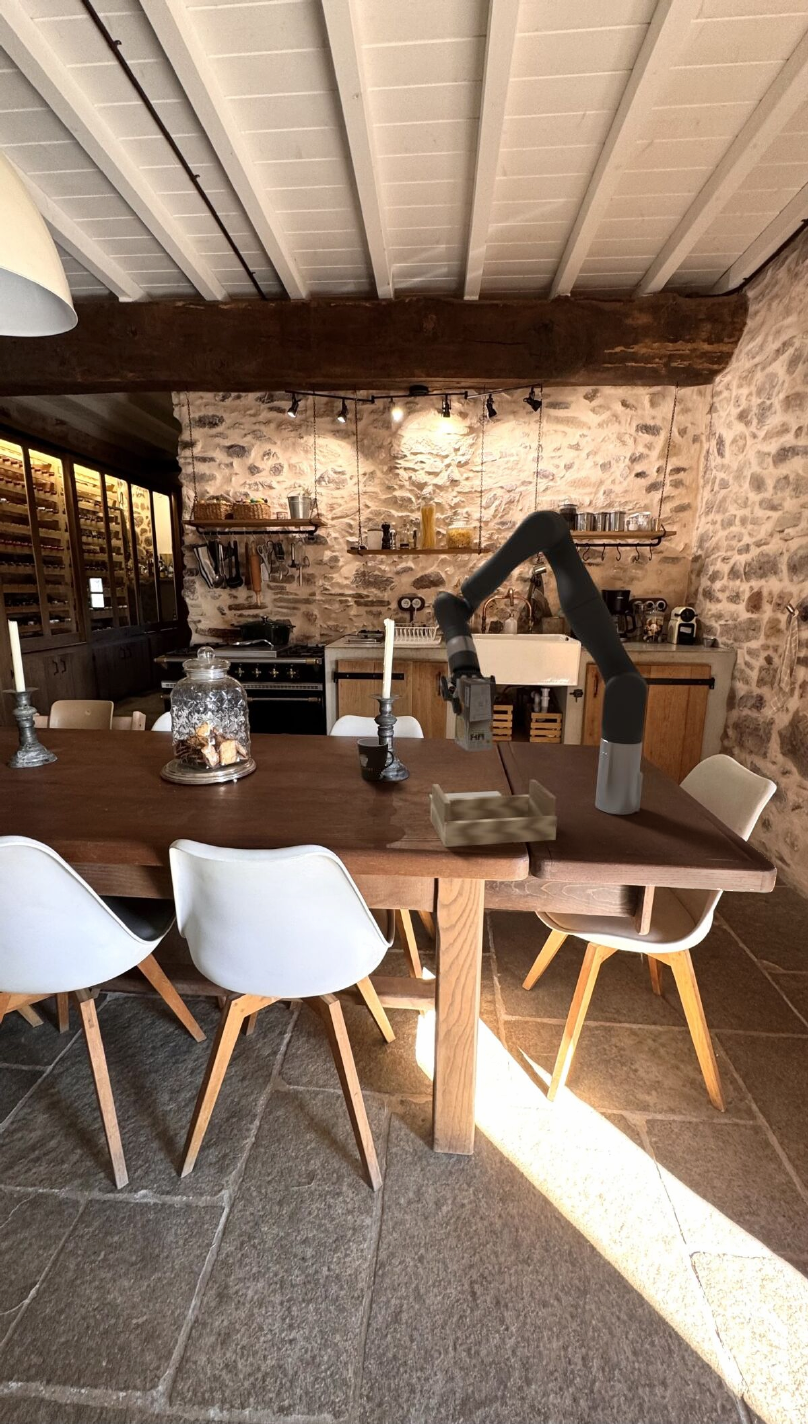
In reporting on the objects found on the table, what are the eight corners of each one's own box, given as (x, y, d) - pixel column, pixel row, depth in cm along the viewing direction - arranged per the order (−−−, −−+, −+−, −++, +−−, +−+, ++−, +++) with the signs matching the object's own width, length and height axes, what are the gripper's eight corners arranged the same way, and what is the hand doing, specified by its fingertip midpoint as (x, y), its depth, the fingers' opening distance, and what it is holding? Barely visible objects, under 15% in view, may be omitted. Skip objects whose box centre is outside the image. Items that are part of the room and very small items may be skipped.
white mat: (497, 792, 151) (497, 791, 151) (513, 810, 139) (513, 808, 139) (429, 796, 148) (429, 794, 148) (440, 814, 136) (440, 812, 136)
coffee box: (493, 750, 137) (496, 683, 134) (468, 752, 136) (471, 684, 132) (476, 740, 146) (479, 676, 142) (453, 742, 144) (455, 677, 141)
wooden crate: (530, 814, 137) (532, 777, 135) (555, 839, 124) (558, 799, 122) (430, 820, 133) (431, 782, 131) (445, 846, 120) (446, 805, 118)
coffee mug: (353, 773, 165) (353, 739, 163) (382, 770, 168) (383, 736, 166) (366, 786, 155) (366, 750, 152) (396, 783, 158) (397, 747, 155)
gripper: (437, 649, 143) (447, 705, 135) (493, 648, 146) (507, 704, 137) (432, 667, 150) (441, 722, 141) (486, 666, 152) (498, 721, 143)
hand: (473, 713), depth 139 cm, fingers closed on coffee box, 7 cm apart
